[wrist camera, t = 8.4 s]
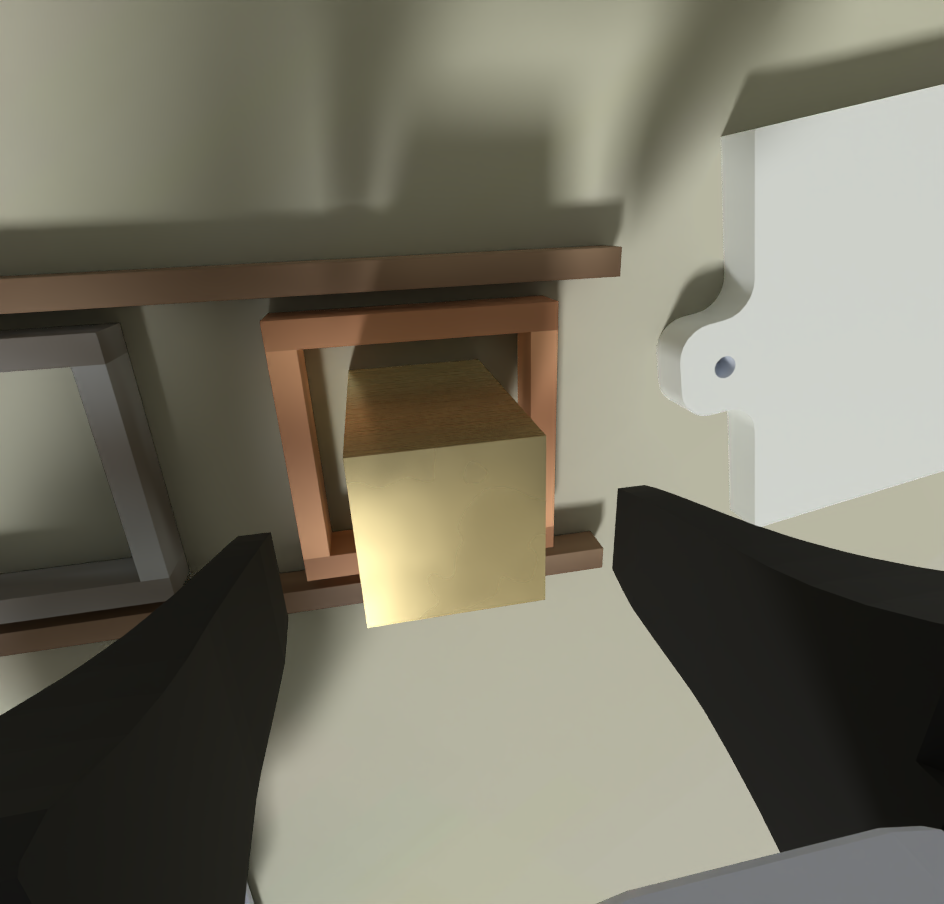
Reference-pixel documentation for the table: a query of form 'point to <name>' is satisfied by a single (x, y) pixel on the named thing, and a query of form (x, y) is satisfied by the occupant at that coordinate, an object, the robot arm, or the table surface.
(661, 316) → the table surface
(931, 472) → the mounting plate
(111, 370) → the socket rail
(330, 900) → the table surface
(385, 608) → the brass block
